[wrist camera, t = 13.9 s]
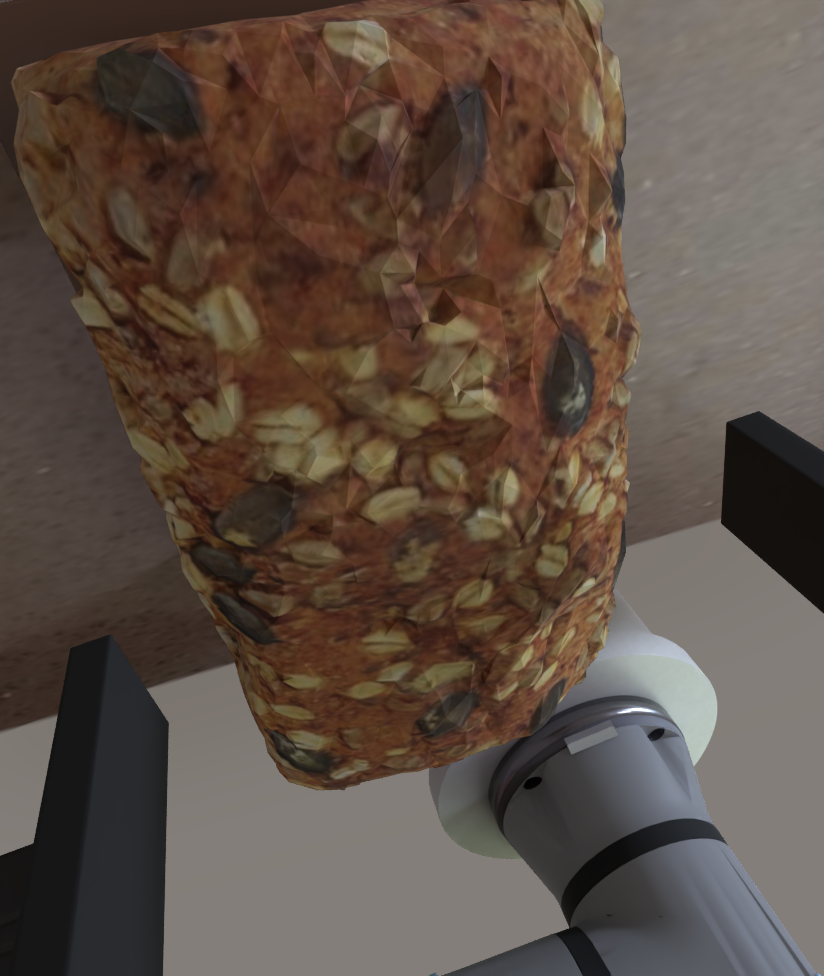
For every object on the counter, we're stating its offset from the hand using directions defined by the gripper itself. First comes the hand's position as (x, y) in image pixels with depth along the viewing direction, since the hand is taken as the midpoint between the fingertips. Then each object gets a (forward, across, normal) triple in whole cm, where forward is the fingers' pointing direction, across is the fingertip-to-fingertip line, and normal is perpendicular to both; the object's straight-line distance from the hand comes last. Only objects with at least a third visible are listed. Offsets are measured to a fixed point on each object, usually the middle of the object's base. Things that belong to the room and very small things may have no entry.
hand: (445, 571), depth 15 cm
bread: (+10, 0, +1) cm, 10 cm away
